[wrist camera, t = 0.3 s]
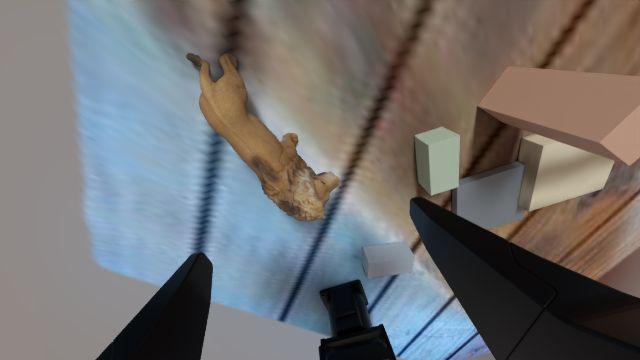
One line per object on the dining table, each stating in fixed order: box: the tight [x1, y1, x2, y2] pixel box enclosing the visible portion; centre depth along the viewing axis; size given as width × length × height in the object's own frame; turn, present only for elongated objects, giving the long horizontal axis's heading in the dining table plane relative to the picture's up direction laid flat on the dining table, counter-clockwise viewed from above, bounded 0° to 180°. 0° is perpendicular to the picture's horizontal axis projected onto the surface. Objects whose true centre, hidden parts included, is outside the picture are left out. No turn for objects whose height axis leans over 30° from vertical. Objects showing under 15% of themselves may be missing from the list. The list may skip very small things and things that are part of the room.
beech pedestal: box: [518, 134, 614, 211], centre depth 26 cm, size 9×9×2 cm
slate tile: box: [452, 161, 526, 230], centre depth 29 cm, size 9×9×1 cm
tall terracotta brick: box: [478, 66, 640, 166], centre depth 18 cm, size 4×4×10 cm
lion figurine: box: [186, 53, 340, 221], centre depth 17 cm, size 15×5×9 cm, turn 43°
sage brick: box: [414, 127, 460, 195], centre depth 24 cm, size 6×3×3 cm, turn 17°
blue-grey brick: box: [362, 241, 415, 279], centre depth 31 cm, size 6×3×3 cm, turn 93°
